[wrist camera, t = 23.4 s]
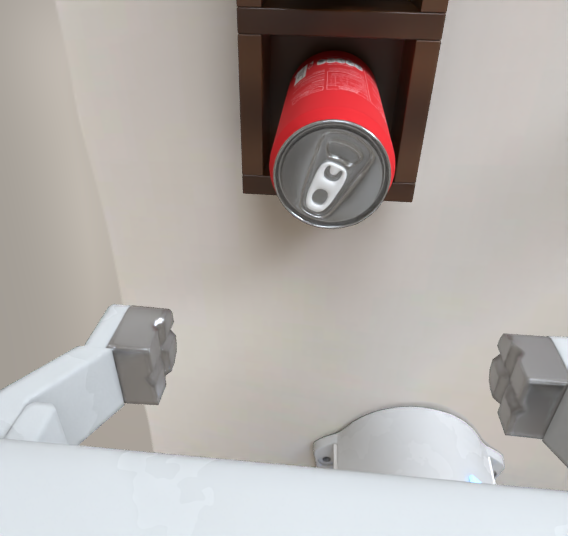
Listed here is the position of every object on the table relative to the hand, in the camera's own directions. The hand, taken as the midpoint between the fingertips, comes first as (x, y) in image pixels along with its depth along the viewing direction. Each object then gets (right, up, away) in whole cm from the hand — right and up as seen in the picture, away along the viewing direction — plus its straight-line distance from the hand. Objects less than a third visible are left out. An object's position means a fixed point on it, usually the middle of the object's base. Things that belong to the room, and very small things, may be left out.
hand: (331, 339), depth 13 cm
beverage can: (+2, +12, +17) cm, 21 cm away
